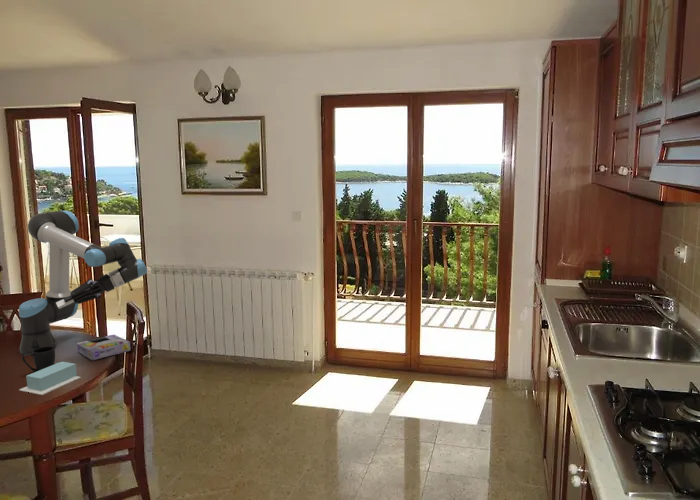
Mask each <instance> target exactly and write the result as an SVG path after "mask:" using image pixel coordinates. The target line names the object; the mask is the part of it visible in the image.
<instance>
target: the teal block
mask: <svg viewBox="0 0 700 500" xmlns="http://www.w3.org/2000/svg"><path fill="white" fill-rule="evenodd" d="M75 376H78V373H77V364H76V363H72V362H68V361H67V362H66V361H60V362H59V361H58V362H57V363H54V365H52V366H49V367H47V368H44V369H42V370H39V371H37V372H34V371H33V372H32V373H30V374H27V375H26V385H27V386H26V387H28V388H30V389H35V390H40V391H43V390H45V389H47V388H50V387H52V386H54V385H56V384H59V383H61V382H63V381H66V380H68V379H70V378H72V377H75Z"/></svg>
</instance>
